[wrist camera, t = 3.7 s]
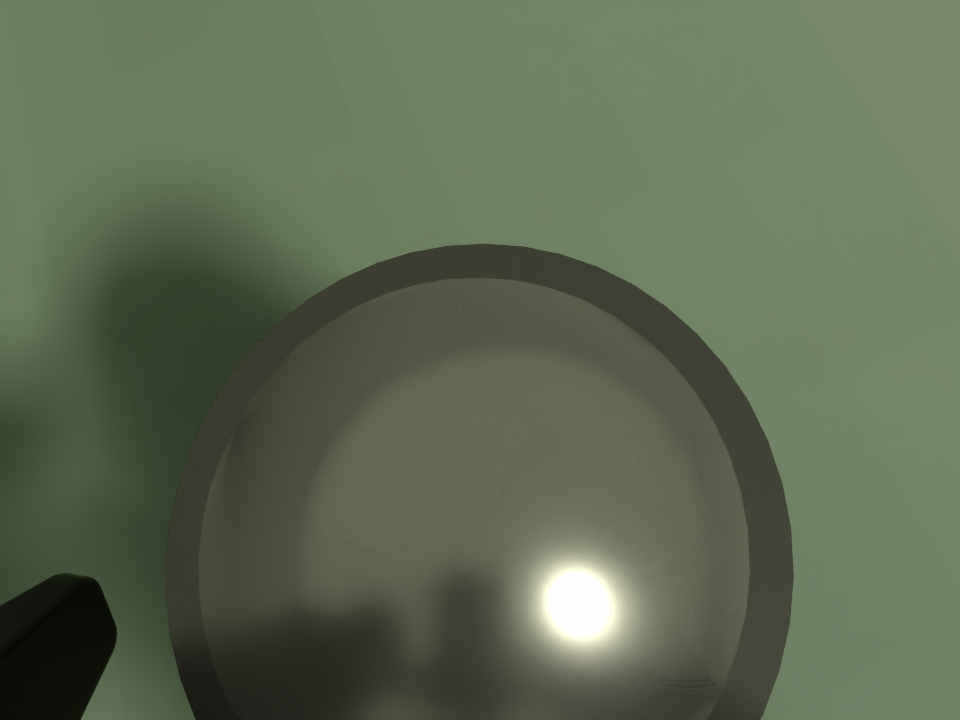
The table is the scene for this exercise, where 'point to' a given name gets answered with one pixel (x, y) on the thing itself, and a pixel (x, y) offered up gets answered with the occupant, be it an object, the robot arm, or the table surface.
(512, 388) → the glass jar
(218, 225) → the table surface
